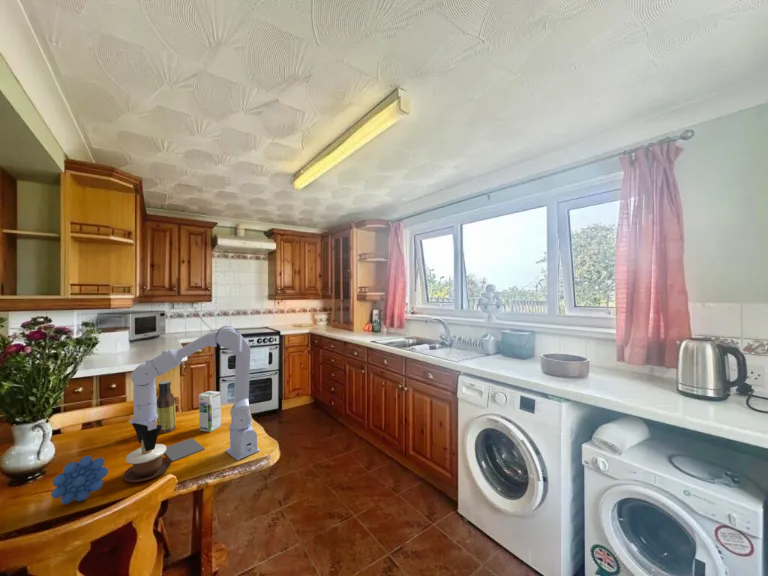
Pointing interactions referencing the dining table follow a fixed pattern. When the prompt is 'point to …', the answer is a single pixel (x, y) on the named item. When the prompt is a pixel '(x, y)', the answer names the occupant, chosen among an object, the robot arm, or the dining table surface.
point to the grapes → (79, 479)
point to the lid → (145, 454)
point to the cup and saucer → (147, 470)
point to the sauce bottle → (166, 408)
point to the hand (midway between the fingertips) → (146, 445)
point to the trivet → (183, 449)
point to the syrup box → (209, 411)
